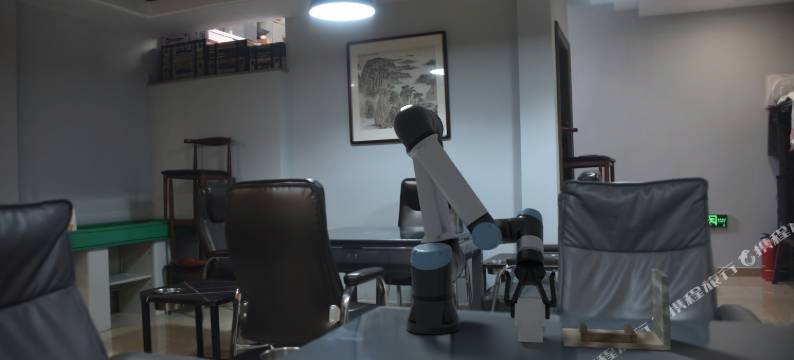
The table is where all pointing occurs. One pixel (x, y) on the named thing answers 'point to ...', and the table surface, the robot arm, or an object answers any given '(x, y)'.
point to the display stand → (628, 336)
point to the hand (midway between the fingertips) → (530, 328)
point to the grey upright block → (529, 319)
